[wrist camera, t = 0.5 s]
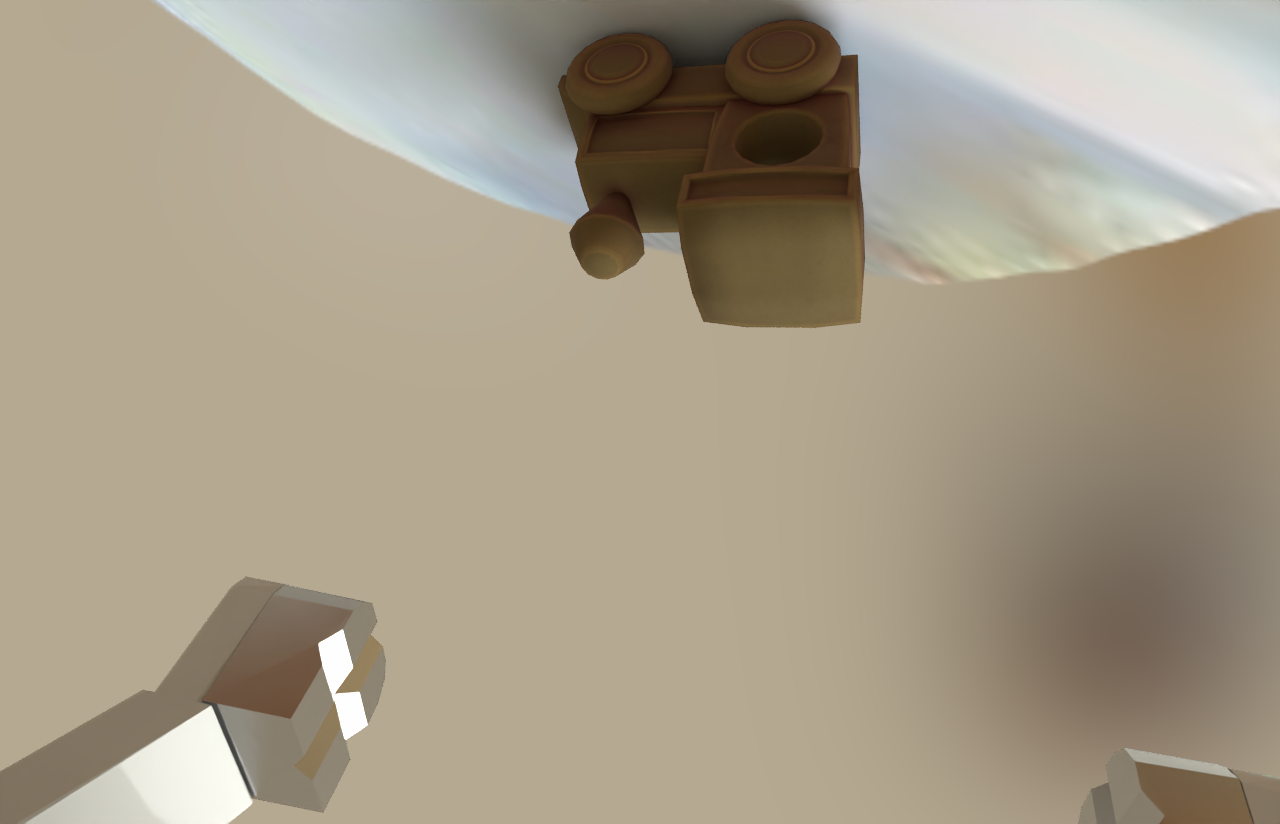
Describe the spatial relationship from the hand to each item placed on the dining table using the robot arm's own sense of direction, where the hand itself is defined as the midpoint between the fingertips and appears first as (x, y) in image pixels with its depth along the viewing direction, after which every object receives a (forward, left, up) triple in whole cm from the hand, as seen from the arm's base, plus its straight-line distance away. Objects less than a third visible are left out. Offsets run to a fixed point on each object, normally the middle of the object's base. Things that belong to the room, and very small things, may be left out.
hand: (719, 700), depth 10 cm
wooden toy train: (+29, +11, -50) cm, 59 cm away
